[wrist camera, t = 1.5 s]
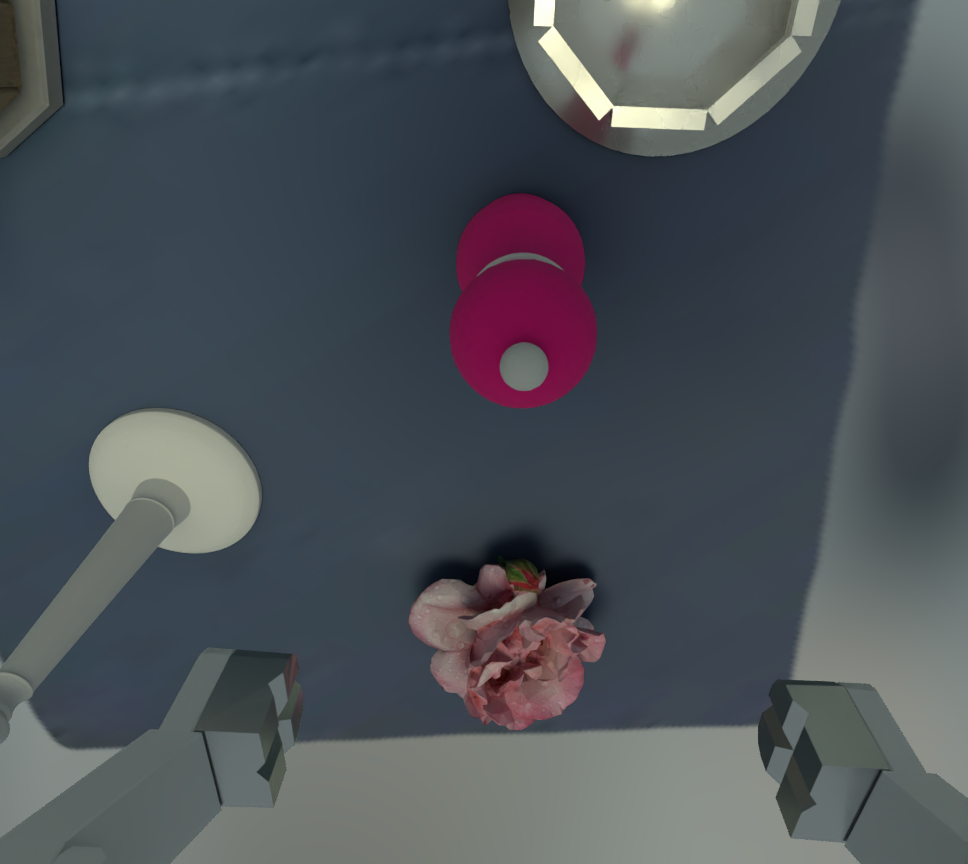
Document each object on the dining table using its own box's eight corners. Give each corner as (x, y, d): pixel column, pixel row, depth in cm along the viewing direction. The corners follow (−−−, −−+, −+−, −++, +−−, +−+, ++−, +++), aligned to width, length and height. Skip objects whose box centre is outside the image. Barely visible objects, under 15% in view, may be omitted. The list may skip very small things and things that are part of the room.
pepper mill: (522, 156, 38) (530, 227, 21) (602, 247, 40) (670, 380, 23) (437, 244, 41) (380, 373, 23) (516, 324, 43) (519, 496, 26)
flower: (452, 708, 57) (472, 799, 48) (387, 569, 52) (395, 640, 43) (607, 639, 58) (656, 715, 49) (557, 497, 53) (601, 551, 44)
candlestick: (127, 375, 46) (-387, 778, 20) (290, 466, 49) (34, 919, 23) (71, 497, 51) (-393, 942, 25) (221, 572, 54) (-51, 1039, 28)
